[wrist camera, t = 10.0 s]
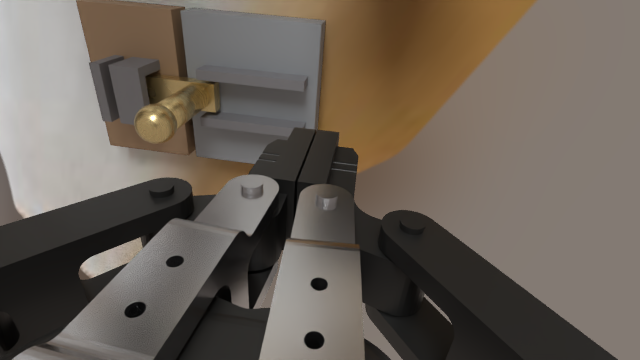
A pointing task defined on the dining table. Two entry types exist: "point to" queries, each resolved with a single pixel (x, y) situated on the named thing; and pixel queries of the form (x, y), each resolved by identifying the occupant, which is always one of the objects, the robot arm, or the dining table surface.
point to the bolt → (173, 105)
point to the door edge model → (206, 73)
